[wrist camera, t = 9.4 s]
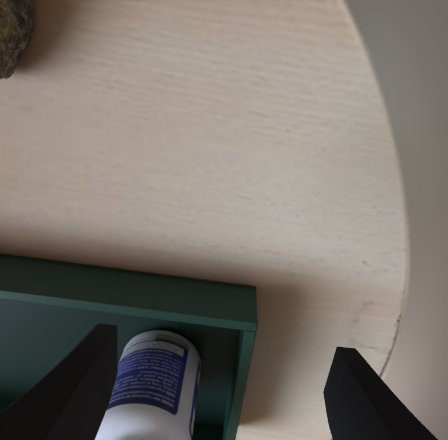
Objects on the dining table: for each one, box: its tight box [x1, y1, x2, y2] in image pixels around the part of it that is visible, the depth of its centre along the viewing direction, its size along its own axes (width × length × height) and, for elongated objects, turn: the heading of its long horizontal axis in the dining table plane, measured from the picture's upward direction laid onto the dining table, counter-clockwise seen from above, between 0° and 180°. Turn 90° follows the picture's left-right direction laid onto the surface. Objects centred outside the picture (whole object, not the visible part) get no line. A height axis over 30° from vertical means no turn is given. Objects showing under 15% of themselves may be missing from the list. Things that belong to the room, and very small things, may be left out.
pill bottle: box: [95, 330, 201, 440], centre depth 21 cm, size 5×5×9 cm
